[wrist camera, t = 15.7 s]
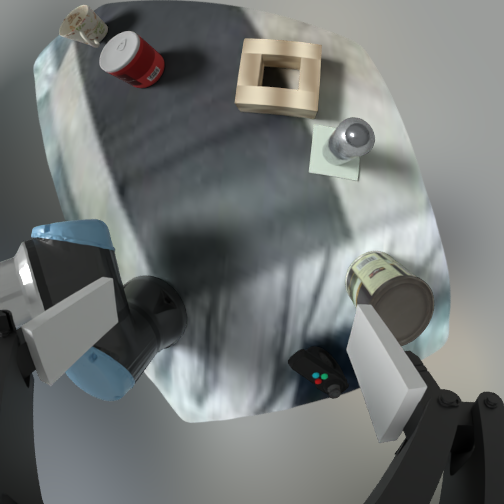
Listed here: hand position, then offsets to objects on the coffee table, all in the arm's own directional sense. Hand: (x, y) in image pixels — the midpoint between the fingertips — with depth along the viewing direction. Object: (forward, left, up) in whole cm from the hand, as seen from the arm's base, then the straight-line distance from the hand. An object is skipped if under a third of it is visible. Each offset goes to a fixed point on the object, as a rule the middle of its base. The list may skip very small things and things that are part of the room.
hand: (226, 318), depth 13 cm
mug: (-42, +39, -32) cm, 66 cm away
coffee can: (+19, -7, -32) cm, 38 cm away
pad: (+9, +14, -32) cm, 36 cm away
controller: (+12, -22, -32) cm, 41 cm away
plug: (+9, +14, -31) cm, 35 cm away
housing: (-1, +25, -32) cm, 40 cm away
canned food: (-26, +27, -32) cm, 49 cm away
